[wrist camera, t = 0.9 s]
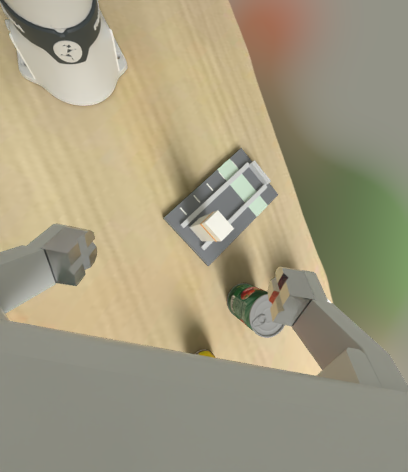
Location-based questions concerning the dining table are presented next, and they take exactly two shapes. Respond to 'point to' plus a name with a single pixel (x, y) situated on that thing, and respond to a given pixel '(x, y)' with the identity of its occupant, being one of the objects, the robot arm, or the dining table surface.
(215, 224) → the fader
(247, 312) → the canned tomato
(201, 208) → the grey slider track base
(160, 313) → the dining table surface
